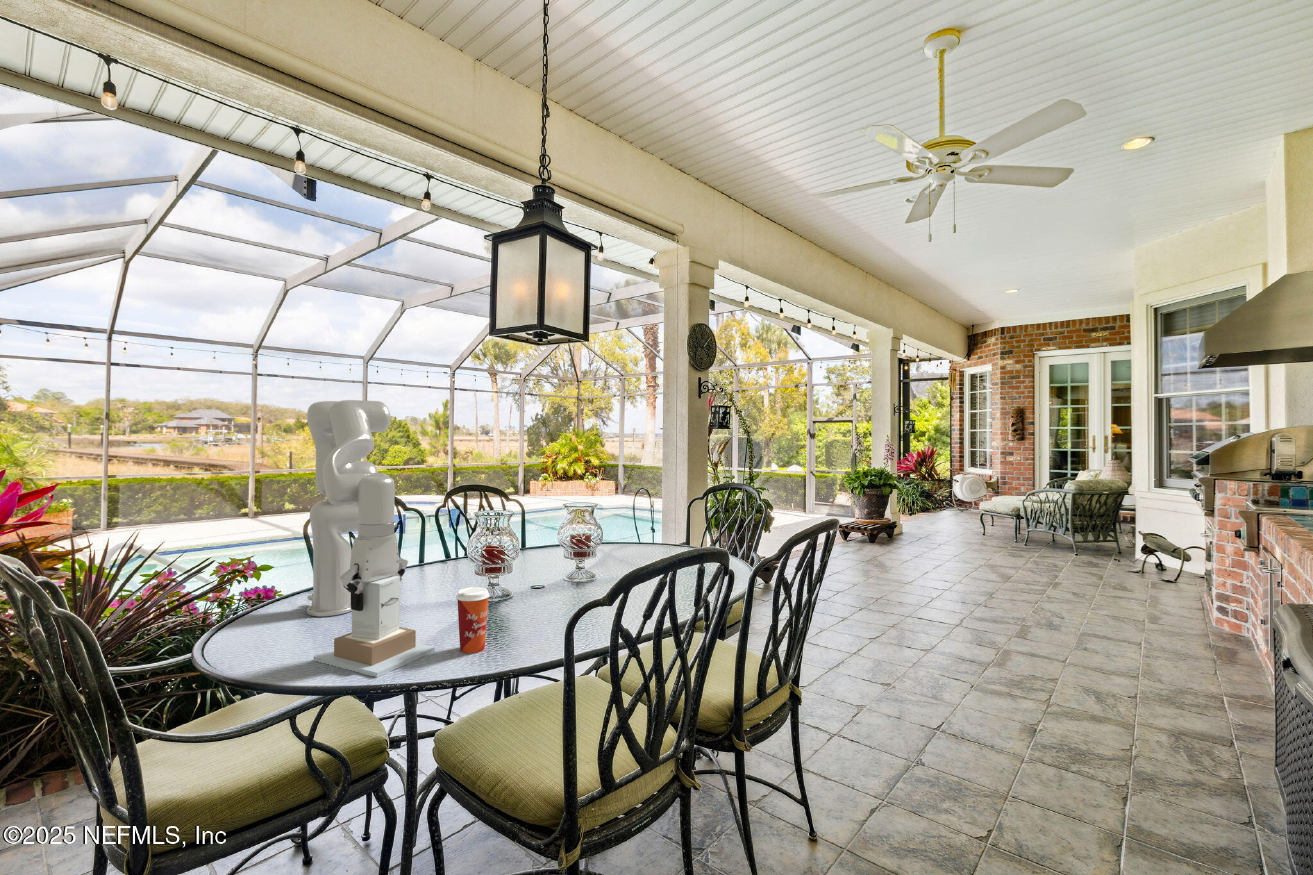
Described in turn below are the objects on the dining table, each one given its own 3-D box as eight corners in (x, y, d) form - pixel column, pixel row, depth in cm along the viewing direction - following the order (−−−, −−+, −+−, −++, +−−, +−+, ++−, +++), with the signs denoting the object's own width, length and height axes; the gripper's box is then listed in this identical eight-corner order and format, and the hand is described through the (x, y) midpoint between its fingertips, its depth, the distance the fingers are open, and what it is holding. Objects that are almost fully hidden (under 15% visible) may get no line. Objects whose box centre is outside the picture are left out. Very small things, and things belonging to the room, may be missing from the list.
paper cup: (470, 657, 133) (471, 597, 132) (448, 650, 137) (449, 591, 136) (496, 647, 139) (497, 589, 139) (474, 640, 143) (475, 584, 143)
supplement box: (378, 640, 129) (379, 583, 129) (350, 636, 131) (350, 581, 130) (400, 629, 136) (401, 575, 136) (373, 626, 138) (374, 573, 138)
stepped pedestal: (313, 660, 130) (313, 637, 130) (374, 637, 144) (374, 616, 144) (377, 677, 122) (377, 652, 122) (434, 651, 136) (434, 629, 136)
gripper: (395, 523, 142) (394, 592, 142) (330, 534, 126) (329, 612, 127) (417, 525, 139) (417, 596, 139) (354, 538, 123) (353, 617, 124)
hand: (375, 603), depth 133 cm, fingers open, 9 cm apart
